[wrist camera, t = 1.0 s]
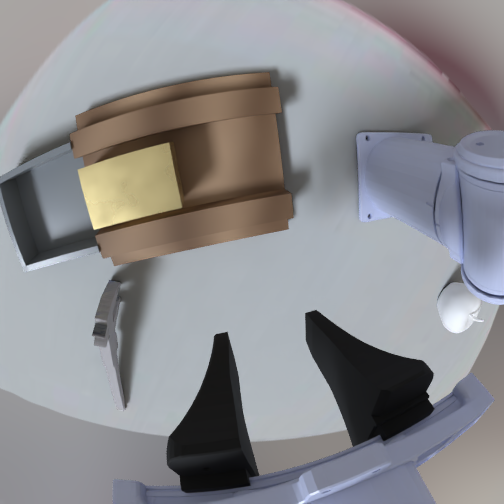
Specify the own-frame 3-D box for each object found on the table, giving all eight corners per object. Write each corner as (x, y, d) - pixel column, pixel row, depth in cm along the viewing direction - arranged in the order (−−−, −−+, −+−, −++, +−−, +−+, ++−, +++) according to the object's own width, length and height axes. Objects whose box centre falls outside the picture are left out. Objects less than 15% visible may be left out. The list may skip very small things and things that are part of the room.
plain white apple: (465, 276, 31) (500, 303, 24) (444, 316, 34) (475, 345, 26) (446, 269, 29) (486, 299, 22) (422, 314, 32) (456, 348, 24)
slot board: (265, 75, 17) (275, 67, 14) (284, 224, 22) (294, 236, 20) (81, 116, 15) (66, 114, 13) (117, 259, 20) (109, 275, 18)
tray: (85, 140, 16) (69, 142, 14) (110, 237, 20) (99, 252, 17) (13, 173, 15) (-6, 180, 13) (39, 257, 19) (24, 272, 16)
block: (173, 141, 17) (169, 142, 14) (184, 196, 18) (182, 207, 16) (94, 163, 16) (77, 169, 13) (107, 216, 18) (93, 229, 15)
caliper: (110, 276, 21) (89, 320, 16) (122, 278, 22) (103, 323, 16) (118, 405, 28) (113, 444, 23) (126, 407, 29) (122, 445, 23)
